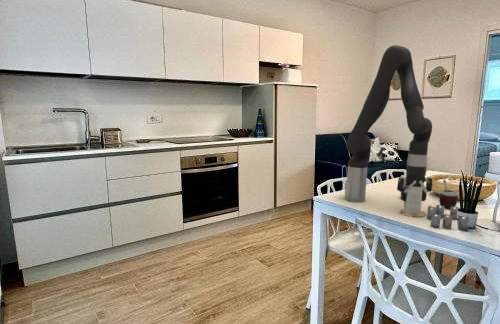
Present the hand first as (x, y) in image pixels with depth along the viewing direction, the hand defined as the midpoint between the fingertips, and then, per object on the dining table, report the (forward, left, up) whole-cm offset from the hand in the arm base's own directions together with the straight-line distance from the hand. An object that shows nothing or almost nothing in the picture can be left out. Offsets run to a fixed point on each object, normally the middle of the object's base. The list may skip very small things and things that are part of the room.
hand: (413, 200), depth 137 cm
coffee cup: (+10, +22, -6) cm, 25 cm away
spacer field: (+9, -12, -6) cm, 16 cm away
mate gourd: (+21, +8, -6) cm, 23 cm away
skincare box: (0, 0, -5) cm, 5 cm away
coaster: (0, 0, -6) cm, 6 cm away
